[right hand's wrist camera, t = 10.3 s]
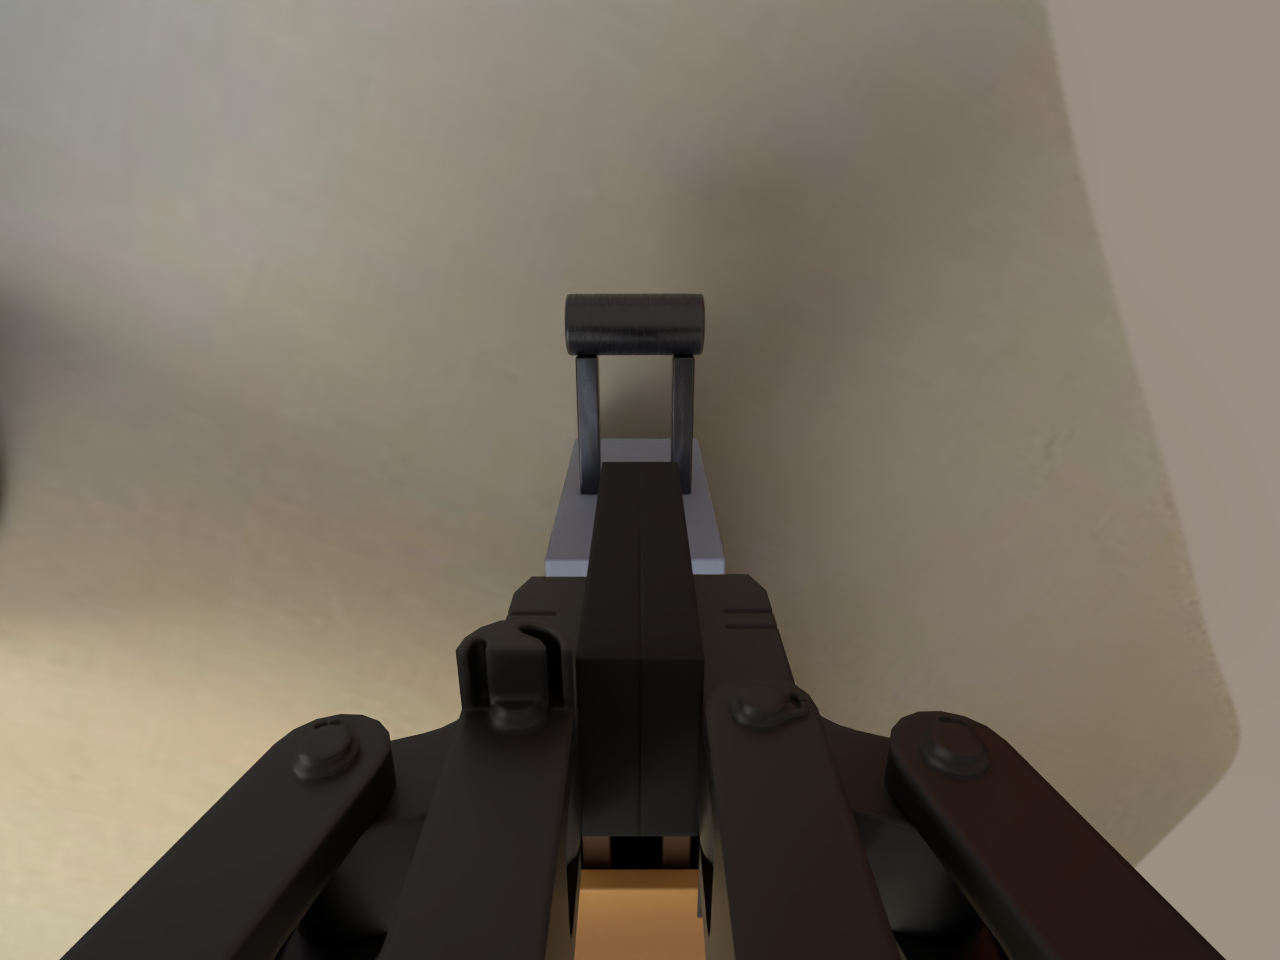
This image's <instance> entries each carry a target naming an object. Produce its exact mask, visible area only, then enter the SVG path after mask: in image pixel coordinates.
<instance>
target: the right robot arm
mask: <svg viewBox="0 0 1280 960" xmlns="http://www.w3.org/2000/svg"><path fill="white" fill-rule="evenodd" d="M456 657H457V667H458V676H459V685H460V694H461V703H462V712H461V715H460V718H459V719H458V720H457V721H455V722H452V723H450V724H448V725H446V726H444V727H442V728H439V729H436V730H433V731H430V732H426V733H423V734H419V735H414V736H410V737H405V738H401V739H397V740H392V741H390V736H389V732H388V731H387V730H386V728H385V727H384V726H383V725H382V724H381V723H380V722H379V721H378V720H375V719H372V718H369V717H367V716H364V715H352V714H339V715H334V716H329V717H325V718H320V719H316V720H314V721H312V722H309V723H307V724H305V725H303V726H300V727H298V728H296V729H294V730H292V731H291V732H290V733H288V734H287V735H286V736H284V737H283V738H282V739H281V740H279V741H278V742H277V743H275V744H274V745H273V746H272V747H271V748H270V749H269V750H268V751H267V752H266V753H265V754H264V755H263V756H262V757H261V758H260V759H259V760H258V761H257V762H256V763H255V764H254V765H253V766H252V767H251V768H250V769H249V770H248V771H247V772H246V773H245V774H244V775H243V776H242V777H241V778H240V779H239V780H238V781H237V782H236V783H235V784H234V785H233V786H232V787H231V788H230V789H229V790H228V791H227V792H226V793H225V794H224V795H223V796H222V797H221V798H220V799H219V800H218V801H217V802H216V803H215V804H214V805H213V806H212V807H211V808H210V809H209V810H208V811H207V812H206V813H205V814H204V815H203V816H202V817H201V818H200V819H199V820H198V821H197V822H196V823H195V824H194V825H193V826H192V827H191V828H190V829H189V830H188V831H187V832H186V833H185V834H184V835H183V836H182V837H181V838H180V839H179V840H178V841H177V842H176V843H175V844H174V845H173V846H172V847H171V848H170V849H169V850H168V851H167V852H166V853H165V854H164V855H163V856H162V857H161V858H160V859H159V860H158V861H157V862H156V863H155V864H154V865H153V866H152V867H151V868H150V869H149V870H148V871H147V872H146V873H145V874H144V875H143V876H142V877H141V879H140V880H139V881H138V882H137V883H136V884H135V885H134V886H133V887H132V888H131V889H130V890H129V891H128V892H127V893H126V894H125V895H124V896H123V897H122V898H121V899H120V900H119V901H118V902H117V903H116V904H115V905H114V906H113V907H112V908H111V909H110V910H109V911H108V912H107V913H106V914H105V915H104V916H103V917H102V918H101V919H100V920H99V921H98V922H97V923H96V924H95V925H94V926H93V927H92V928H91V929H90V930H89V931H88V932H87V933H86V934H85V935H84V936H83V937H82V938H81V939H80V940H79V941H78V942H77V943H76V944H75V945H74V946H73V947H72V948H71V949H70V950H69V951H68V952H67V953H66V954H65V955H64V956H63V957H62V958H61V959H60V960H574V956H575V944H576V932H577V919H578V907H579V895H580V883H581V855H580V838H581V827H582V836H698V823H699V834H700V855H699V879H698V904H697V918H703V931H704V943H705V955H706V960H1226V959H1225V958H1224V957H1223V956H1222V955H1221V954H1220V953H1219V952H1218V951H1217V950H1216V949H1215V948H1214V947H1213V946H1212V945H1211V944H1210V943H1209V942H1208V941H1207V940H1206V939H1205V938H1204V937H1203V936H1202V935H1201V934H1200V933H1199V932H1198V931H1197V930H1196V929H1195V928H1194V927H1193V926H1192V925H1190V923H1189V922H1188V921H1186V920H1185V918H1184V917H1182V915H1181V914H1180V913H1178V912H1177V911H1176V910H1175V909H1174V908H1173V907H1172V906H1171V905H1170V904H1169V903H1168V902H1167V901H1166V900H1165V899H1164V898H1163V897H1162V896H1161V895H1160V894H1159V893H1158V892H1157V891H1156V890H1155V889H1154V888H1153V887H1152V886H1151V885H1150V884H1149V883H1148V882H1147V881H1146V880H1145V879H1144V878H1143V877H1142V876H1141V875H1140V874H1139V873H1138V872H1137V871H1136V870H1135V869H1134V868H1133V867H1132V866H1131V865H1130V864H1129V863H1128V862H1127V861H1126V860H1125V859H1124V858H1123V857H1122V856H1121V855H1120V854H1119V853H1118V852H1117V851H1116V850H1115V849H1114V848H1113V847H1112V846H1111V845H1110V844H1109V843H1108V842H1107V841H1106V840H1105V839H1104V838H1103V837H1102V836H1101V835H1100V834H1099V833H1098V832H1097V831H1096V830H1095V829H1094V828H1093V827H1092V826H1091V825H1090V824H1089V823H1088V822H1087V821H1086V820H1085V819H1084V818H1083V817H1082V816H1081V815H1080V814H1079V813H1078V812H1077V811H1076V810H1075V809H1074V808H1073V807H1072V806H1071V805H1070V804H1069V803H1068V802H1067V801H1066V800H1065V799H1064V798H1063V797H1062V796H1061V795H1060V794H1059V793H1058V792H1057V791H1056V790H1055V789H1054V788H1053V787H1052V786H1051V785H1050V784H1049V783H1048V782H1047V781H1046V780H1045V779H1044V778H1043V777H1042V776H1041V775H1040V774H1039V773H1038V772H1037V771H1036V770H1035V769H1034V768H1033V767H1032V766H1031V765H1030V764H1029V763H1028V762H1027V761H1026V760H1025V759H1024V758H1023V757H1022V756H1021V755H1020V754H1019V753H1018V752H1017V751H1016V750H1015V749H1014V748H1013V747H1012V746H1011V745H1010V744H1009V743H1008V742H1007V741H1006V740H1004V739H1003V738H1002V737H1000V736H999V735H998V734H996V733H995V732H994V731H992V730H991V729H990V728H989V727H987V726H985V725H983V724H980V723H978V722H976V721H974V720H972V719H969V718H967V717H965V716H961V715H956V714H952V713H947V712H942V711H926V712H916V713H914V714H911V715H908V716H905V717H903V718H901V719H900V720H899V721H898V722H897V724H896V725H895V726H894V727H893V728H892V730H891V736H890V738H888V737H883V736H879V735H874V734H870V733H866V732H861V731H857V730H853V729H850V728H847V727H844V726H840V725H838V724H836V723H834V722H832V721H830V720H827V719H825V718H823V717H822V716H821V715H820V714H819V711H818V708H817V707H816V705H815V703H814V702H813V700H812V699H811V697H810V696H809V694H807V693H806V692H804V691H803V690H802V689H800V688H799V687H798V686H796V685H795V682H794V679H793V676H792V673H791V669H790V666H789V663H788V660H787V657H786V653H785V650H784V647H783V644H782V640H781V637H780V634H779V631H778V629H777V624H776V621H775V618H774V615H773V613H772V608H771V605H770V602H769V599H768V595H767V592H766V590H765V589H764V588H763V587H762V586H760V585H759V584H758V583H757V582H756V581H755V580H754V579H753V578H752V577H751V576H750V575H748V574H693V570H692V562H691V555H690V548H689V540H688V533H687V526H686V518H685V511H684V504H683V496H682V489H681V482H680V474H679V467H678V462H602V467H601V474H600V482H599V489H598V496H597V504H596V511H595V518H594V526H593V533H592V540H591V548H590V555H589V562H588V570H587V577H531V578H530V579H529V580H528V581H527V582H525V583H524V584H523V585H522V586H521V587H520V588H519V589H518V590H517V591H516V592H515V593H514V595H513V598H512V601H511V605H510V608H509V611H508V616H507V618H506V620H503V621H499V622H496V623H492V624H489V625H486V626H483V627H481V628H479V629H478V630H476V631H474V632H473V633H471V634H470V635H468V636H467V637H465V638H464V640H463V641H462V642H461V644H460V645H459V646H458V648H457V649H456Z"/></svg>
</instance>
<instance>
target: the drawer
mask: <svg viewBox="0 0 1280 960" xmlns="http://www.w3.org/2000/svg"><path fill="white" fill-rule="evenodd" d="M704 334H705V306H704V298H703V295H702V294H569V295H567V297H566V302H565V338H566V347H567V351H568V354H569V355H577V356H576V387H577V416H578V439H576V440H575V443H574V447H573V451H572V455H571V459H570V463H569V467H568V471H567V475H566V479H565V483H564V487H563V491H562V494H561V498H560V502H559V506H558V510H557V514H556V518H555V522H554V526H553V530H552V534H551V538H550V542H549V546H548V550H547V554H546V557H545V575H546V577H587V570H588V562H589V555H590V548H591V540H592V533H593V526H594V518H595V511H596V504H597V496H598V489H599V482H600V474H601V467H602V462H678V467H679V474H680V482H681V489H682V496H683V504H684V511H685V518H686V526H687V533H688V540H689V548H690V555H691V562H692V570H693V574H725V557H724V552H723V548H722V543H721V539H720V535H719V530H718V526H717V521H716V517H715V513H714V508H713V504H712V500H711V495H710V491H709V486H708V482H707V478H706V473H705V469H704V464H703V460H702V456H701V451H700V447H699V443H698V439H696V438H693V410H694V370H695V358H694V355H700V354H702V352H703V347H704ZM599 355H672V373H671V438H608V439H601V429H600V386H599ZM582 840H583V864H584V869H690V848H691V836H582Z"/></svg>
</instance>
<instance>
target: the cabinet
mask: <svg viewBox="0 0 1280 960" xmlns="http://www.w3.org/2000/svg"><path fill="white" fill-rule="evenodd" d="M580 855H581V883H580V895H579V907H578V919H577V932H576V944H575V956H574V960H706V955H705V943H704V931H703V918H697V904H698V879H699V855H700V834H699V823H698V836H691V848H690V869H584V864H583V840H582V827H581V838H580Z"/></svg>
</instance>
